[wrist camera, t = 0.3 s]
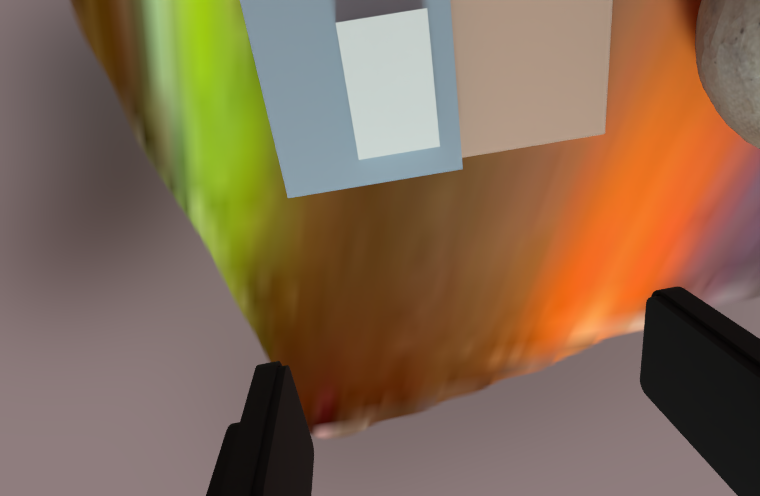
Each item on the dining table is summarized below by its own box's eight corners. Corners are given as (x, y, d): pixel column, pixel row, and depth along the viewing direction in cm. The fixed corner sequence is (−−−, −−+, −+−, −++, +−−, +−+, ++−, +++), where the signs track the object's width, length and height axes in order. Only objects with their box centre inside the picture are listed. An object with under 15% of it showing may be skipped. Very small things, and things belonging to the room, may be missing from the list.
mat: (442, -28, 33) (443, -29, 33) (612, -55, 33) (616, -56, 33) (457, 157, 39) (458, 158, 38) (602, 133, 39) (604, 133, 39)
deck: (250, 3, 33) (239, -3, 29) (435, -27, 33) (447, -37, 30) (293, 184, 39) (288, 198, 35) (451, 158, 39) (462, 169, 35)
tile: (335, 24, 30) (335, 22, 29) (422, 10, 30) (427, 7, 29) (357, 154, 34) (358, 160, 32) (434, 141, 34) (439, 146, 32)
